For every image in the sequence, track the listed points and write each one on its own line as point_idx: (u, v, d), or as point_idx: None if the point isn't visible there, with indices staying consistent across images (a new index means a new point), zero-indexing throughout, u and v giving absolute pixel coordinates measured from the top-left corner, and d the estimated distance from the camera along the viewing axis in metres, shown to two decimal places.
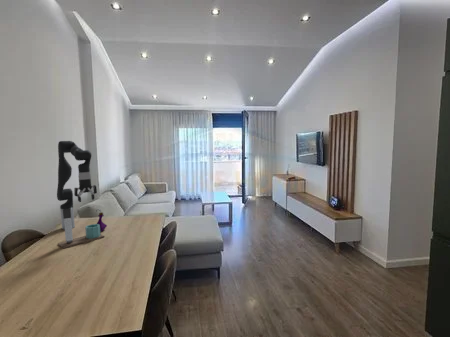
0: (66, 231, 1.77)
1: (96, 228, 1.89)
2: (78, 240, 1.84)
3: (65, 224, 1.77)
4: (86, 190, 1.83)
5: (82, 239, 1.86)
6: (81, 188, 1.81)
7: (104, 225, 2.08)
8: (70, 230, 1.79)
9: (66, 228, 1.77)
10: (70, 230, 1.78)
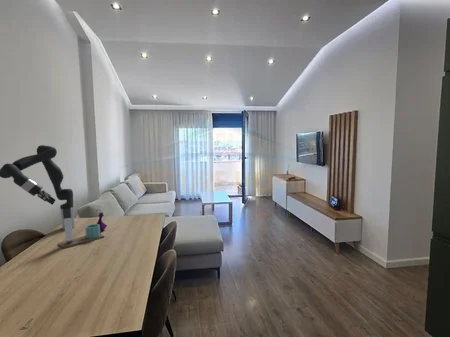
0: (66, 231, 1.77)
1: (96, 228, 1.89)
2: (78, 240, 1.84)
3: (65, 224, 1.77)
4: None
5: (82, 239, 1.86)
6: None
7: (104, 225, 2.08)
8: (70, 230, 1.79)
9: (66, 228, 1.77)
10: (70, 230, 1.78)
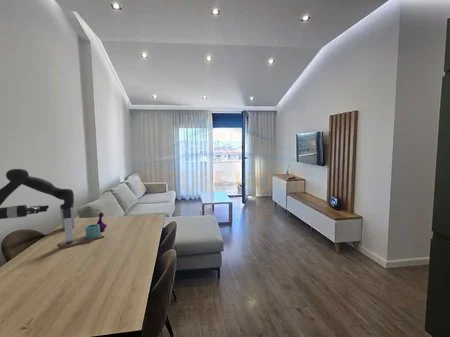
0: (66, 231, 1.77)
1: (96, 228, 1.89)
2: (78, 240, 1.84)
3: (65, 224, 1.77)
4: None
5: (82, 239, 1.86)
6: None
7: (104, 225, 2.08)
8: (70, 230, 1.79)
9: (66, 228, 1.77)
10: (70, 230, 1.78)
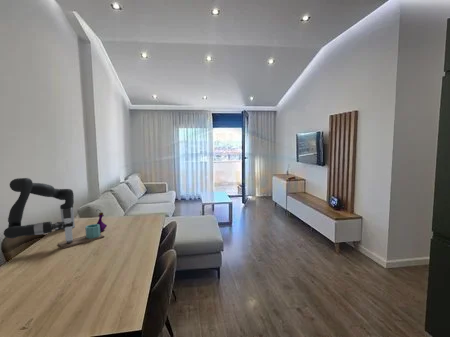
0: (66, 231, 1.77)
1: (96, 228, 1.89)
2: (78, 240, 1.84)
3: None
4: None
5: (82, 239, 1.86)
6: None
7: (104, 225, 2.08)
8: (70, 230, 1.79)
9: (66, 228, 1.77)
10: (70, 230, 1.78)
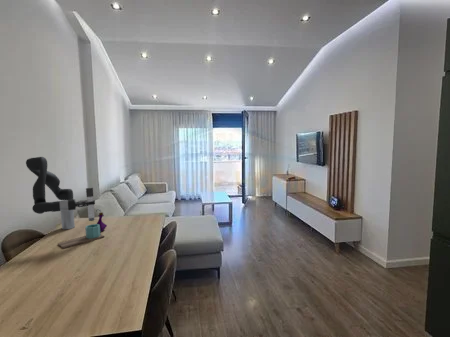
0: (89, 209, 1.88)
1: (96, 228, 1.89)
2: (78, 240, 1.84)
3: None
4: None
5: (82, 239, 1.86)
6: None
7: (104, 225, 2.08)
8: (92, 208, 1.89)
9: (89, 206, 1.88)
10: (92, 208, 1.89)
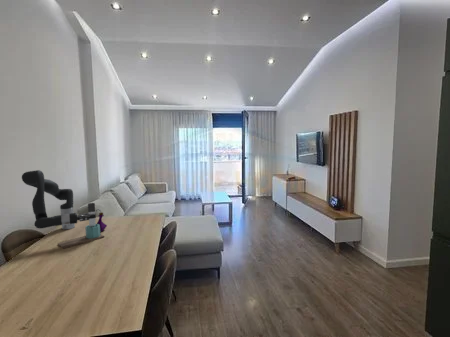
0: (90, 224, 1.89)
1: (96, 228, 1.89)
2: (78, 240, 1.84)
3: None
4: None
5: (82, 239, 1.86)
6: None
7: (104, 225, 2.08)
8: (94, 223, 1.90)
9: (90, 221, 1.89)
10: (93, 223, 1.90)
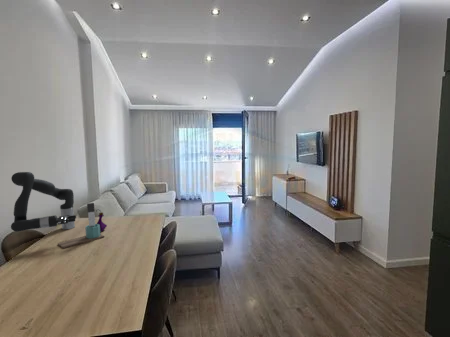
0: (90, 224, 1.89)
1: (96, 228, 1.89)
2: (78, 240, 1.84)
3: (89, 217, 1.89)
4: None
5: (82, 239, 1.86)
6: None
7: (104, 225, 2.08)
8: (94, 223, 1.90)
9: (90, 221, 1.89)
10: (93, 223, 1.90)
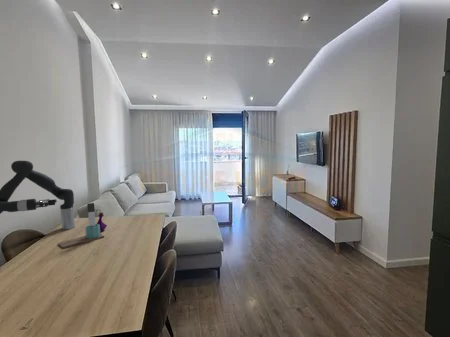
0: (90, 224, 1.89)
1: (96, 228, 1.89)
2: (78, 240, 1.84)
3: (89, 217, 1.89)
4: None
5: (82, 239, 1.86)
6: None
7: (104, 225, 2.08)
8: (94, 223, 1.90)
9: (90, 221, 1.89)
10: (93, 223, 1.90)
